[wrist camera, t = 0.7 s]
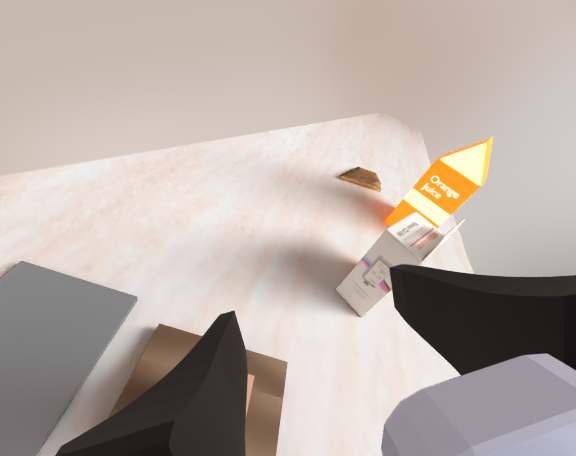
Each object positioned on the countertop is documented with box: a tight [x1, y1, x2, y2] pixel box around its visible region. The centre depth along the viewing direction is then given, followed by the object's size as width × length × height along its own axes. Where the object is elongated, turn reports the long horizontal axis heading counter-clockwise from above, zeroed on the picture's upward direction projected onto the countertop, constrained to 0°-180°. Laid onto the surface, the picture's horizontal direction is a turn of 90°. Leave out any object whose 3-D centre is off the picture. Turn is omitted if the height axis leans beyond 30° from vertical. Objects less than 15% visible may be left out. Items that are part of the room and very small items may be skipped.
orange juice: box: [384, 137, 493, 228], centre depth 47 cm, size 8×9×20 cm
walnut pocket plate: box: [109, 324, 287, 456], centre depth 20 cm, size 12×12×1 cm
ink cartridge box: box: [336, 212, 465, 317], centre depth 32 cm, size 9×5×15 cm, turn 132°
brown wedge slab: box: [340, 167, 381, 192], centre depth 62 cm, size 11×8×2 cm
